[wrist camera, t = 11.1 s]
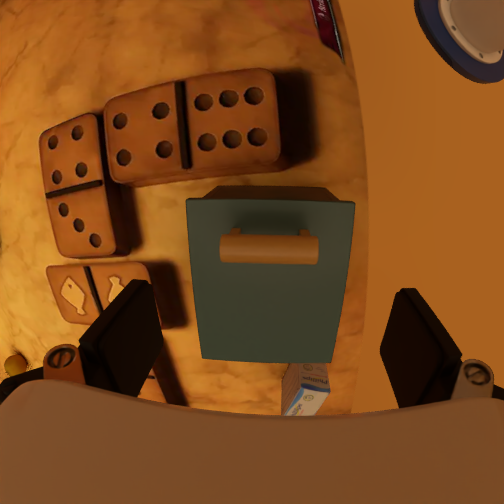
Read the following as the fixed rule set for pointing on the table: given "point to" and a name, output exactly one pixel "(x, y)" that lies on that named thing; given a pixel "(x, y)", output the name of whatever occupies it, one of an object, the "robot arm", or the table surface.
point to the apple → (15, 365)
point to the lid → (269, 276)
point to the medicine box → (304, 389)
